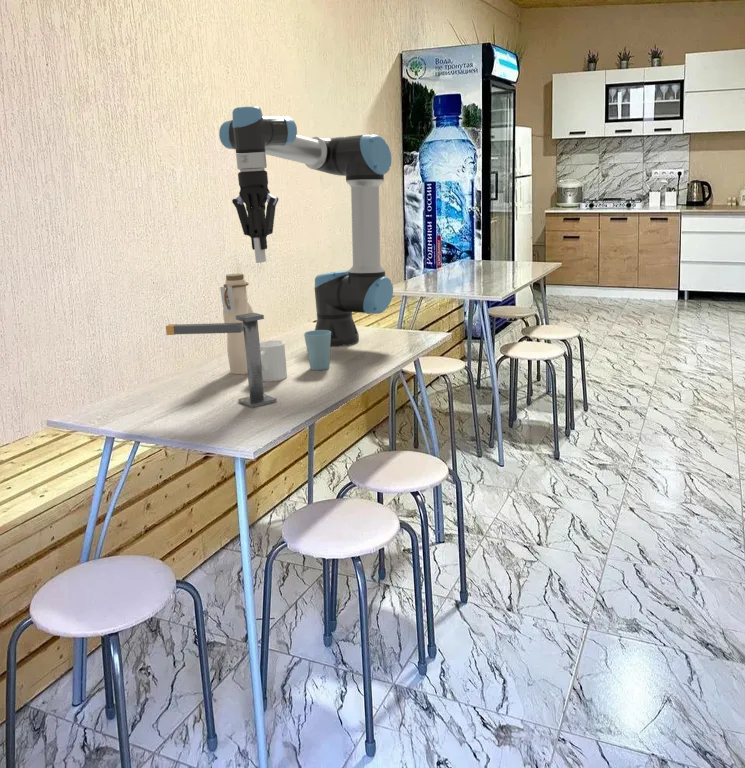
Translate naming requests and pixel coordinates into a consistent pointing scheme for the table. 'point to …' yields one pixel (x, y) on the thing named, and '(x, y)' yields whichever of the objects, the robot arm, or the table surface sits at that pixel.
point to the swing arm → (204, 328)
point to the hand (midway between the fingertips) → (261, 262)
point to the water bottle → (232, 306)
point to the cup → (318, 348)
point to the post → (253, 361)
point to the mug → (273, 360)
